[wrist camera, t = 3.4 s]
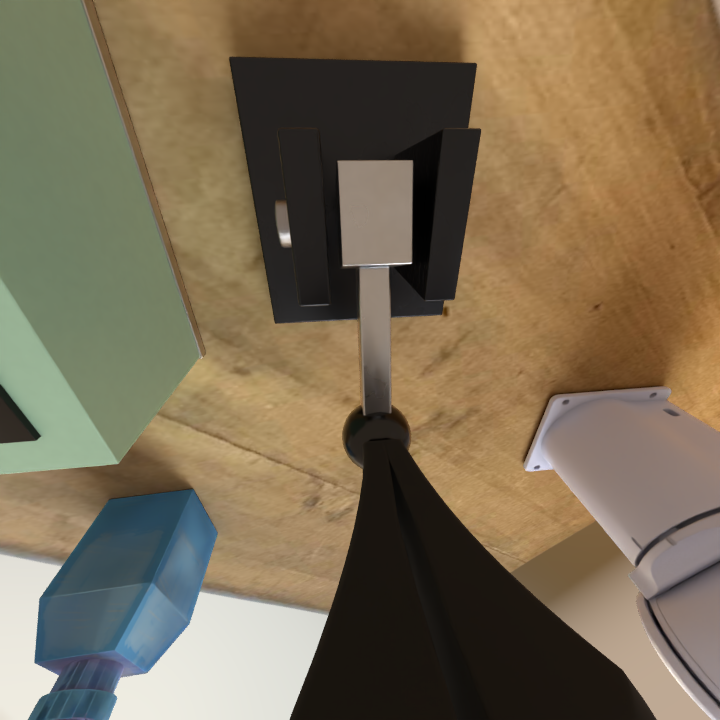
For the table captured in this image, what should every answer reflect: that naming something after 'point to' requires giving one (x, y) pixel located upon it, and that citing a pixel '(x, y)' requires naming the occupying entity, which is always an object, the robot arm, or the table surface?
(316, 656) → the robot arm
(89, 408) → the toaster body
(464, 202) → the switch bracket
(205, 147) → the table surface
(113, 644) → the perfume bottle
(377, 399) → the switch lever
